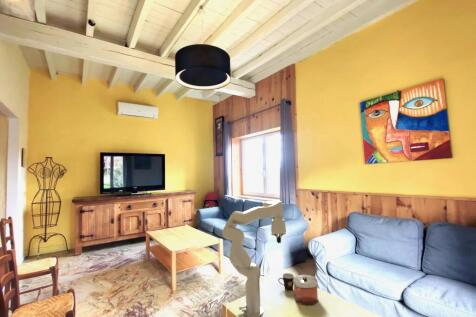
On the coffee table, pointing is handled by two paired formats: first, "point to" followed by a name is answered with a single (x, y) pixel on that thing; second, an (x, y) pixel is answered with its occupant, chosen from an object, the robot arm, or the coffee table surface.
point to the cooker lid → (305, 281)
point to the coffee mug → (288, 281)
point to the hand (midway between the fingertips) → (278, 242)
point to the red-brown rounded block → (306, 295)
